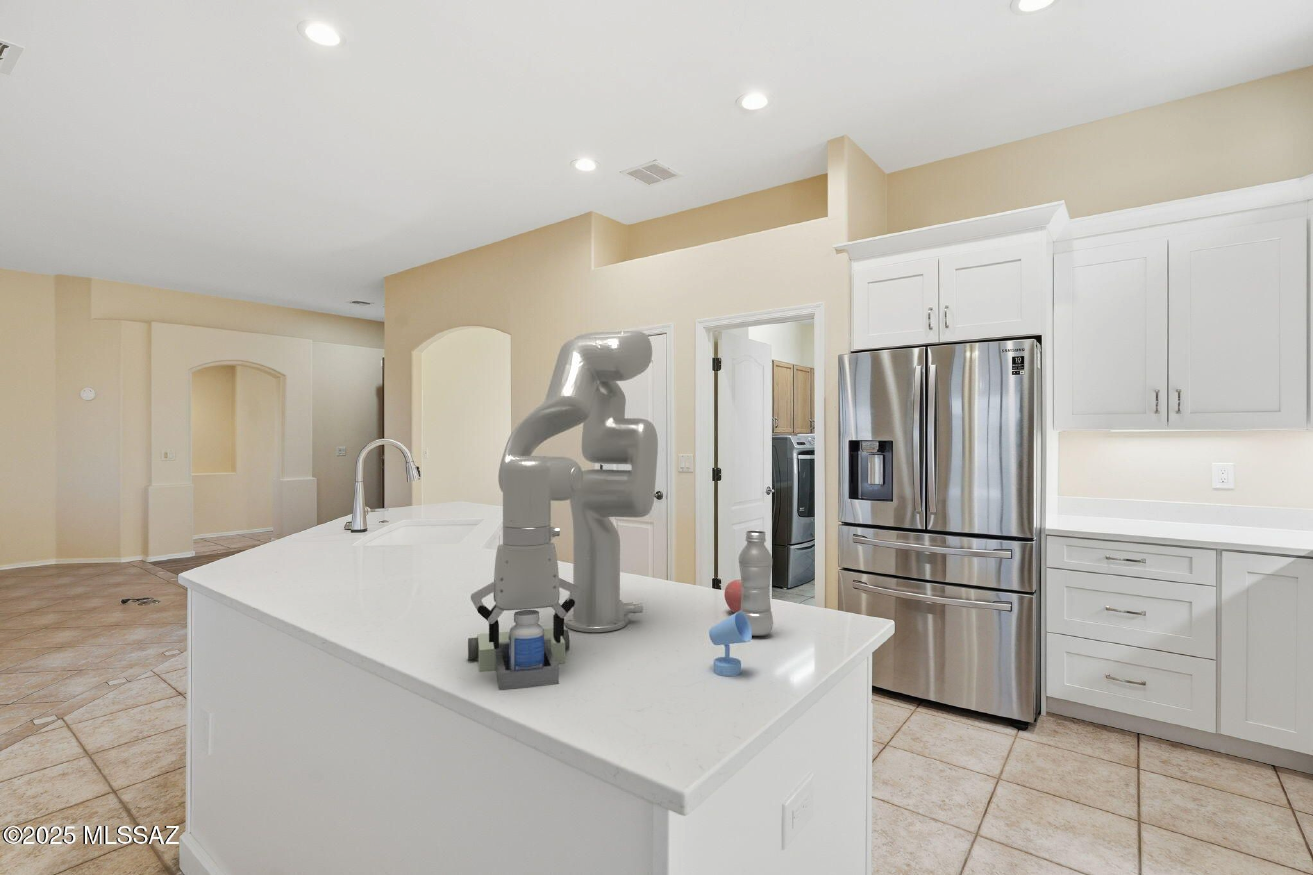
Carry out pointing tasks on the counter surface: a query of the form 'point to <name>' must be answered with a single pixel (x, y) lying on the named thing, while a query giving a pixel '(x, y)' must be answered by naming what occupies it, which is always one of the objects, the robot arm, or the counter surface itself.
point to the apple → (734, 595)
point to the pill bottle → (526, 641)
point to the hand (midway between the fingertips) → (526, 643)
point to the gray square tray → (525, 676)
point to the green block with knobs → (486, 651)
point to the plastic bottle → (756, 583)
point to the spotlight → (730, 642)
